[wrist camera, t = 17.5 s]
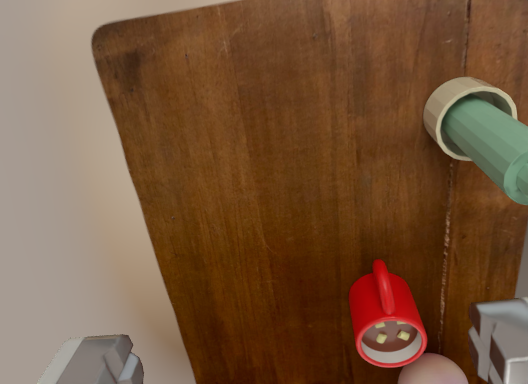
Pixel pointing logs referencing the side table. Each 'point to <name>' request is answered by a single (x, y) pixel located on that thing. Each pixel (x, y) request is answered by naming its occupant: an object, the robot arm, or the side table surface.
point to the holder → (448, 96)
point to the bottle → (491, 143)
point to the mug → (385, 319)
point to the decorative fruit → (432, 371)
